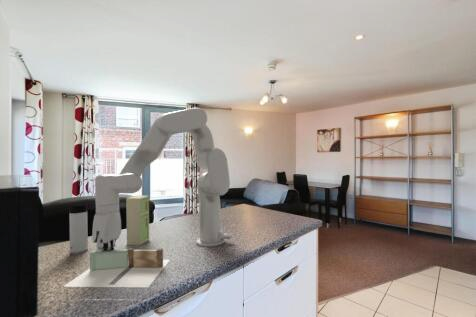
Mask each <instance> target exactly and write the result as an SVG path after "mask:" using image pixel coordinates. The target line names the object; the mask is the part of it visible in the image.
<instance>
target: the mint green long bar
mask: <svg viewBox="0 0 476 317" xmlns="http://www.w3.org/2000/svg"><path fill="white" fill-rule="evenodd" d="M128 249H129V248H126V249H125V248H124V249H114V250H110V251H103V250H100V251H97V250H91V251H90V252H89V268H90V270H97V269H108V268H119V267H127V266H128Z"/></svg>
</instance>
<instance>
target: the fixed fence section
mask: <svg viewBox="0 0 476 317" xmlns="http://www.w3.org/2000/svg"><path fill="white" fill-rule="evenodd" d="M127 249H128V267H133V266H134V267H161V268H162V266H163V260H164V249H163V248H159V247H158V248H157V249H134V248H132V247H131V248H127Z"/></svg>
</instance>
